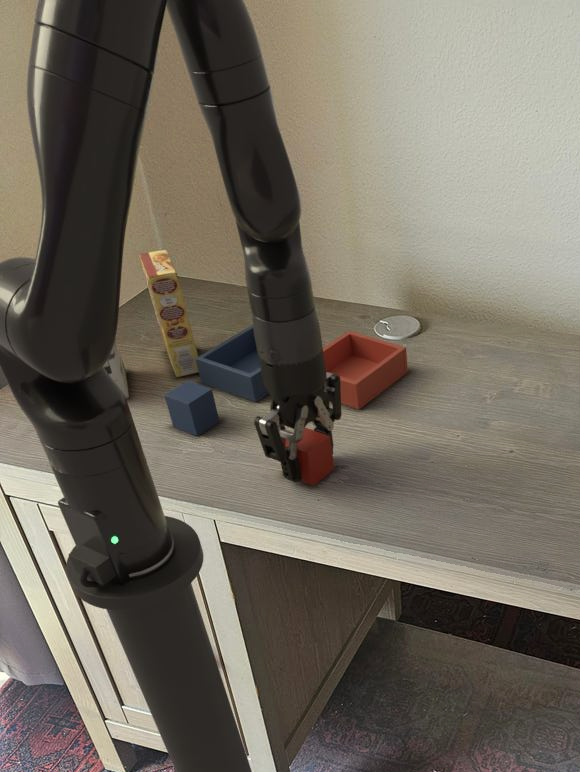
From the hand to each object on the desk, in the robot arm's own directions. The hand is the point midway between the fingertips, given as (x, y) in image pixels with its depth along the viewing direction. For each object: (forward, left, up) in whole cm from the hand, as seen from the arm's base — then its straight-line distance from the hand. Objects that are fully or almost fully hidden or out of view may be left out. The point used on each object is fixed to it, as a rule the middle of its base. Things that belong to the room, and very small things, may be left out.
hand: (309, 466), depth 112 cm
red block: (0, 0, -1) cm, 1 cm away
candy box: (+13, +35, -1) cm, 37 cm away
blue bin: (+16, +23, -1) cm, 28 cm away
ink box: (+2, +39, -1) cm, 39 cm away
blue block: (+1, +21, -1) cm, 21 cm away
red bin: (+22, +9, -1) cm, 24 cm away
